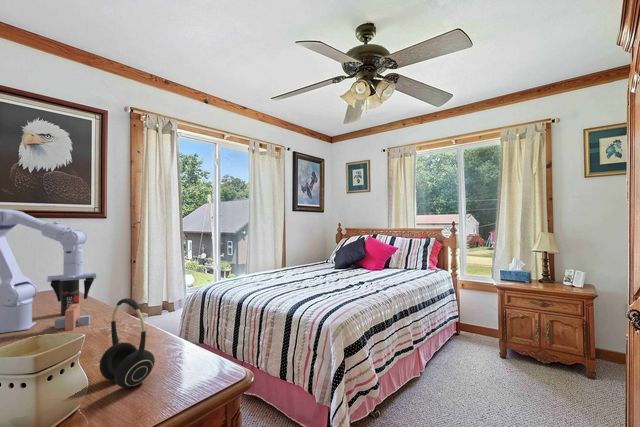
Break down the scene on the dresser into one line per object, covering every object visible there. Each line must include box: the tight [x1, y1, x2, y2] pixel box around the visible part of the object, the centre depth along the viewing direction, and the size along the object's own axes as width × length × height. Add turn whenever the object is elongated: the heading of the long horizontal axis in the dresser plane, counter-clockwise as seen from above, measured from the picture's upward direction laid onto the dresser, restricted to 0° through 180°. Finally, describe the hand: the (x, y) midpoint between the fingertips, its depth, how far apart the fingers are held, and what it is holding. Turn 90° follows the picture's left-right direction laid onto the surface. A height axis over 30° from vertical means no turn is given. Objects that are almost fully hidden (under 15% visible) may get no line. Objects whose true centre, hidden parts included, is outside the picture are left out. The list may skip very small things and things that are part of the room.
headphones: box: [99, 298, 156, 389], centre depth 75 cm, size 9×15×20 cm, turn 58°
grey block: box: [54, 314, 91, 330], centre depth 115 cm, size 10×2×3 cm, turn 117°
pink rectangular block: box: [64, 302, 81, 331], centre depth 115 cm, size 2×10×7 cm, turn 27°
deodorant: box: [60, 277, 80, 317], centre depth 131 cm, size 6×6×15 cm
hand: (72, 299), depth 115 cm, fingers open, 7 cm apart
